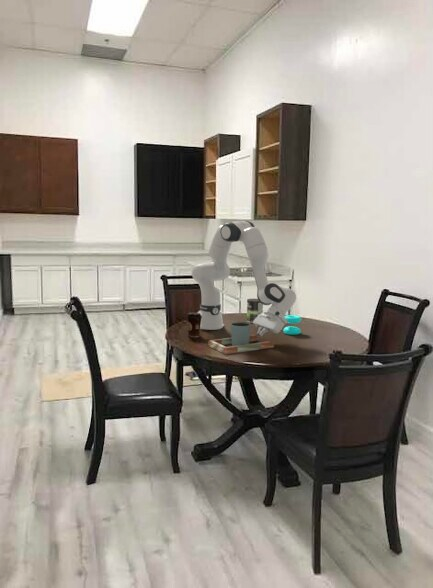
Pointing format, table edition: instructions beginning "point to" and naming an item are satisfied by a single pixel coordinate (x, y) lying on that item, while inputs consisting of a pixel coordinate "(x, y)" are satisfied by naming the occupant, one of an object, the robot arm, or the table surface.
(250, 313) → the coffee can
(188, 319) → the coffee cup
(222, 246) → the robot arm
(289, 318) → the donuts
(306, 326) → the table surface
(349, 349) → the table surface
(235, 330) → the grey-blue cylinder
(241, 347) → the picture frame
